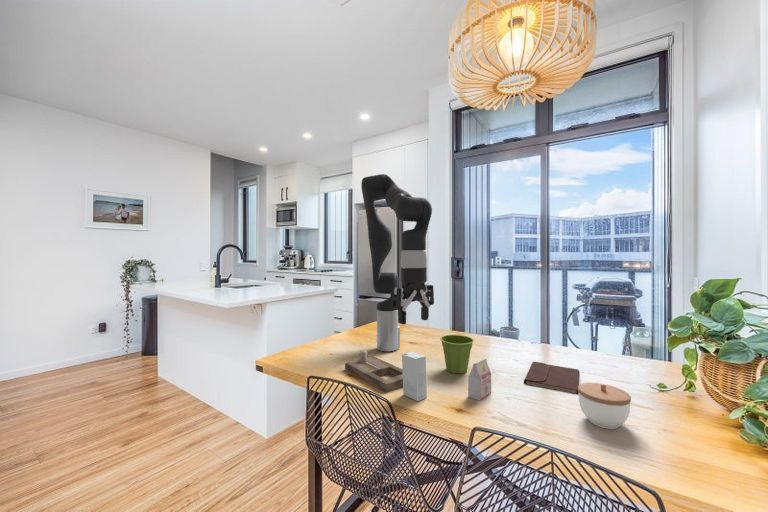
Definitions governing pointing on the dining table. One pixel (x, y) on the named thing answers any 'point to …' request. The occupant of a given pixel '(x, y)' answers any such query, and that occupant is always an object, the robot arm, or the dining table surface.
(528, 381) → the notebook
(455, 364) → the plant pot
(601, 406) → the lidded jar
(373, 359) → the brown piece
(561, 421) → the dining table surface
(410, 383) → the skincare box
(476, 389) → the milk carton
